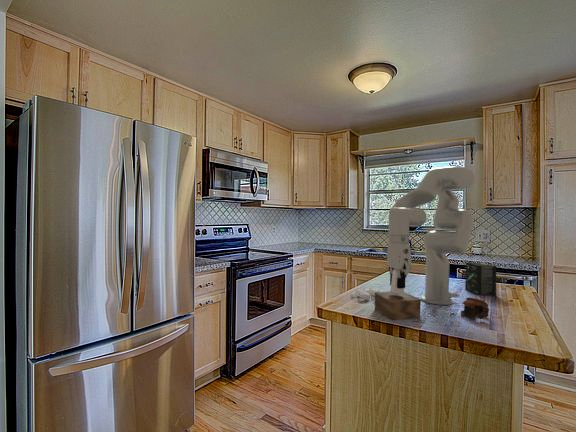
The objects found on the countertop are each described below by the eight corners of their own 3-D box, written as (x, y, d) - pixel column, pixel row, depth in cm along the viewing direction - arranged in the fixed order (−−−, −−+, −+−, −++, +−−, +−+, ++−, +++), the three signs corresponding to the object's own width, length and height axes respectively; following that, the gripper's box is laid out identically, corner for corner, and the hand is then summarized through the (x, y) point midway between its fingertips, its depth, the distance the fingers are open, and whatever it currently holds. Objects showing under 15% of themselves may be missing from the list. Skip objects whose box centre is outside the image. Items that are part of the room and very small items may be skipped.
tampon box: (496, 295, 150) (497, 265, 150) (477, 295, 150) (478, 265, 150) (482, 290, 161) (483, 262, 161) (464, 289, 161) (465, 261, 161)
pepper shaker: (401, 294, 115) (402, 265, 115) (387, 292, 119) (388, 263, 119) (406, 292, 119) (407, 263, 119) (393, 289, 123) (393, 262, 123)
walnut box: (401, 307, 127) (401, 291, 127) (420, 318, 115) (421, 299, 115) (374, 309, 124) (374, 292, 124) (391, 320, 112) (391, 301, 112)
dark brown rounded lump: (453, 315, 121) (459, 295, 123) (474, 326, 121) (480, 306, 123) (475, 317, 109) (481, 295, 112) (498, 329, 109) (504, 307, 112)
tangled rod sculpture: (351, 293, 155) (351, 284, 155) (381, 292, 152) (380, 284, 152) (352, 302, 136) (352, 293, 136) (386, 302, 133) (386, 292, 133)
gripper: (421, 241, 112) (419, 291, 112) (394, 237, 128) (393, 281, 128) (402, 241, 110) (401, 292, 110) (378, 237, 126) (377, 282, 126)
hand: (397, 286), depth 119 cm, fingers closed on pepper shaker, 3 cm apart
